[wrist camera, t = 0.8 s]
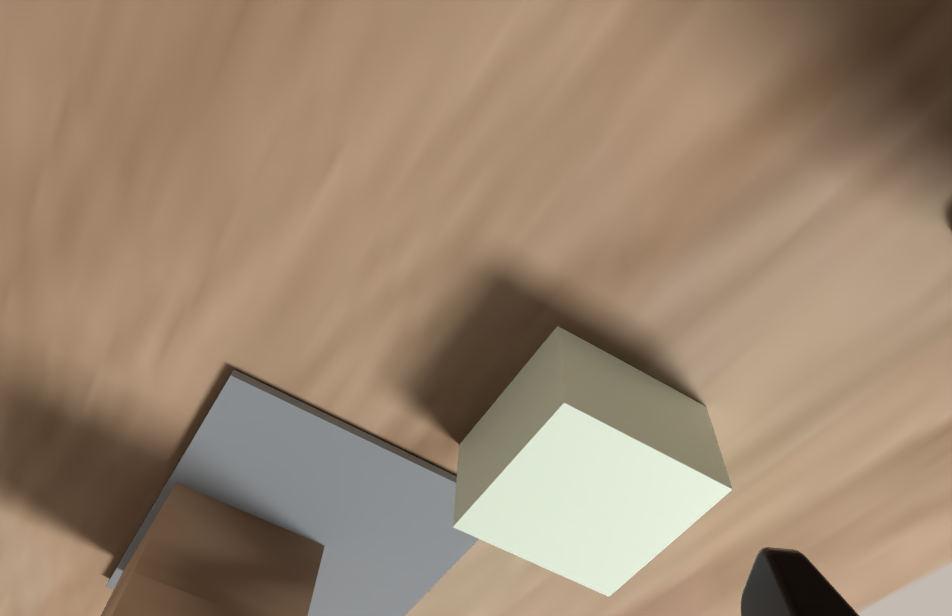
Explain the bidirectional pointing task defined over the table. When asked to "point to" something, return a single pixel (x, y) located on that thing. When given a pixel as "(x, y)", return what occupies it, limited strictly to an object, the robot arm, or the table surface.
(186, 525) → the walnut block lower
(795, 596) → the robot arm
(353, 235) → the table surface
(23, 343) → the table surface
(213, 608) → the walnut block upper
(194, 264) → the table surface
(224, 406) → the slate mat
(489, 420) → the sage block
